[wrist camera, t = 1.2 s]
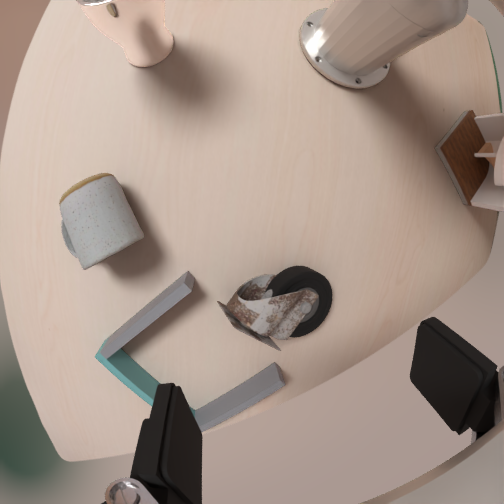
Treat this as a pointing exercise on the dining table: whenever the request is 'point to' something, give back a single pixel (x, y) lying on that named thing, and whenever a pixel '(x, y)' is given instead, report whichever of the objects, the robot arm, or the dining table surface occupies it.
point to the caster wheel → (280, 304)
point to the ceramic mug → (97, 219)
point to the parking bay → (147, 385)
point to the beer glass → (133, 27)
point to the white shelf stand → (476, 159)
